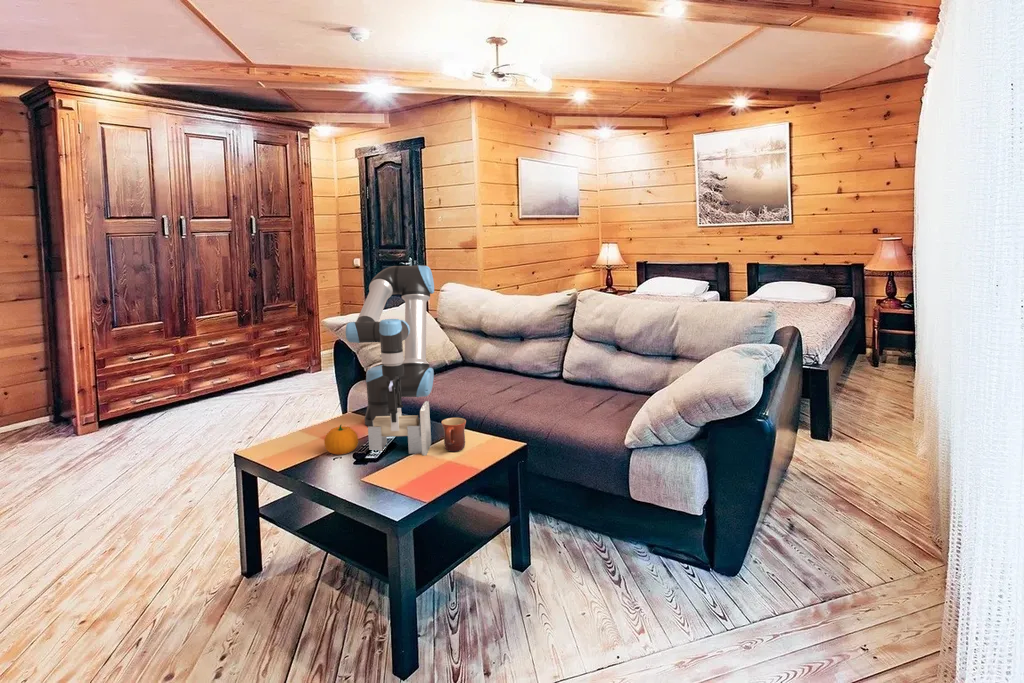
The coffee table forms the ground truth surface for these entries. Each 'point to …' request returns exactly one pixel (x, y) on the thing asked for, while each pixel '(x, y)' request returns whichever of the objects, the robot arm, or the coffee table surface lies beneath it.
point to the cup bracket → (420, 432)
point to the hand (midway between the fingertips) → (396, 428)
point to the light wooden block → (403, 423)
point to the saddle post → (376, 438)
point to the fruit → (341, 440)
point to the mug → (454, 434)
